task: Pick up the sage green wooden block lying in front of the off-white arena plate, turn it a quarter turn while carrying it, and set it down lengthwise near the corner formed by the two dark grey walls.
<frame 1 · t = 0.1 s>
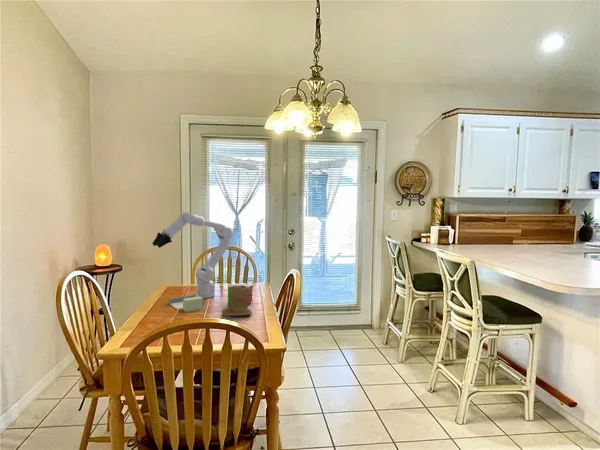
hand: (155, 245, 209), 32 cm above the table, tool tilted 50°, fingers open, 7 cm apart
brown boot: (236, 314, 198), on the table
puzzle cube: (240, 304, 217), on the table
arena: (186, 304, 212), on the table
green block: (192, 309, 204), on the table
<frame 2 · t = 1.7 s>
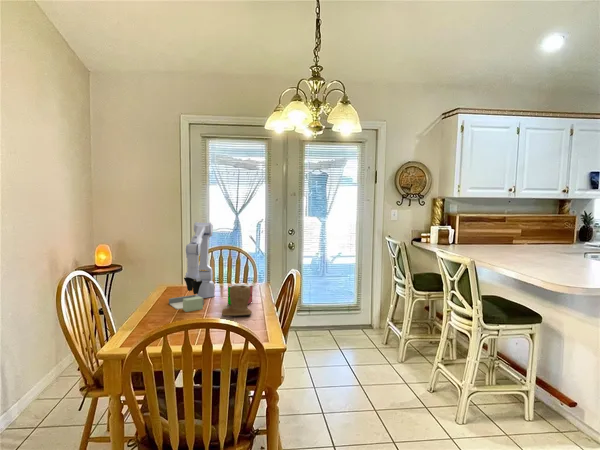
hand: (192, 292, 203), 9 cm above the table, tool pointing down, fingers open, 7 cm apart
nothing on the table moved.
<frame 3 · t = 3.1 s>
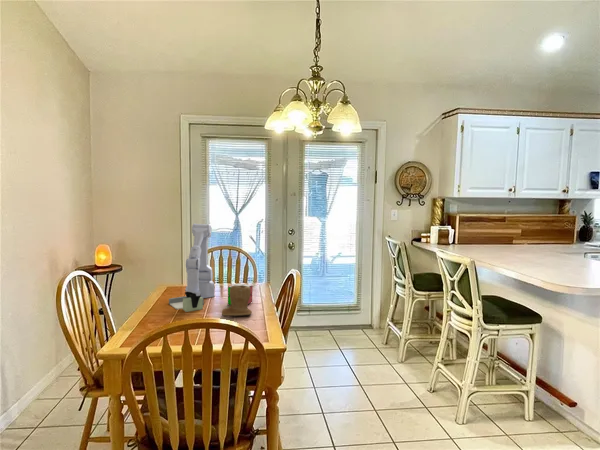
hand: (192, 306, 204), 2 cm above the table, tool pointing down, fingers closed on green block, 4 cm apart
green block: (192, 309, 204), on the table, touching gripper
everything else where it was.
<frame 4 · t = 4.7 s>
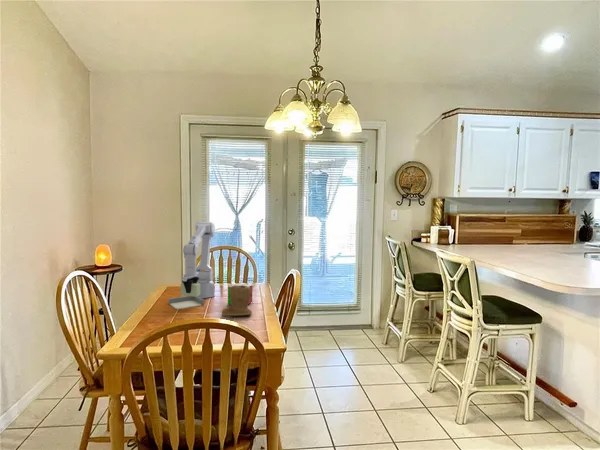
hand: (190, 291, 207), 8 cm above the table, tool pointing down, fingers closed on green block, 4 cm apart
green block: (190, 294, 207), point 7 cm above the table, touching gripper
everything else where it was.
when the fingers open (3 cm above the table, at t = 6.6 s): green block drops 1 cm, resting on arena.
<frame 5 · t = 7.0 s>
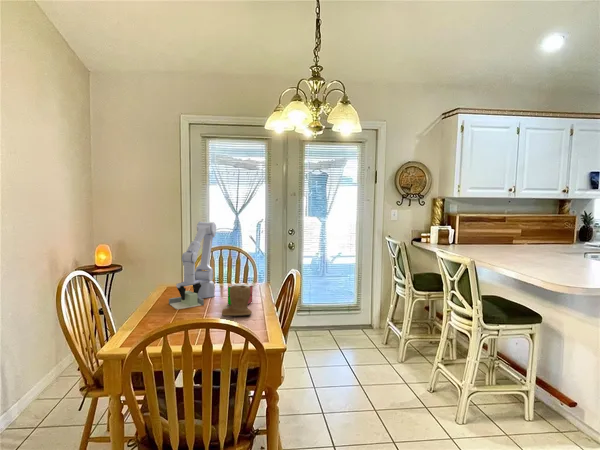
hand: (189, 298, 212), 3 cm above the table, tool pointing down, fingers open, 7 cm apart
green block: (189, 303, 212), point 1 cm above the table, touching arena
everything else where it was.
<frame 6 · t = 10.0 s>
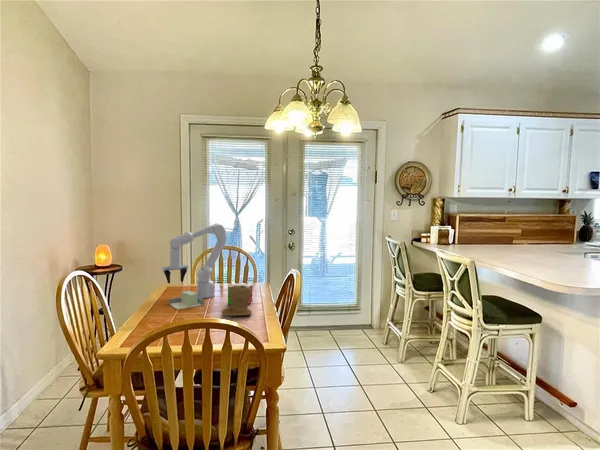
hand: (175, 282, 223), 9 cm above the table, tool pointing down, fingers open, 7 cm apart
nothing on the table moved.
at the end: green block 0.3 cm from the target spot, point 0.6 cm above the table; green block tilted 0°; the gripper is holding nothing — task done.
